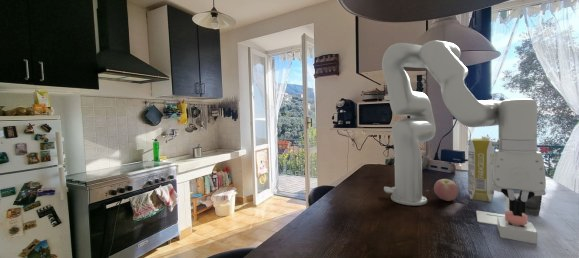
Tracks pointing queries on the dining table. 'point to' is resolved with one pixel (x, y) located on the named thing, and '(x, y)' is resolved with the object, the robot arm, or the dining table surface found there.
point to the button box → (517, 231)
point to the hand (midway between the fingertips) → (516, 214)
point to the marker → (516, 194)
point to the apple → (446, 189)
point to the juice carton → (480, 169)
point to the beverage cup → (533, 206)
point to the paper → (488, 217)
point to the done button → (515, 219)
